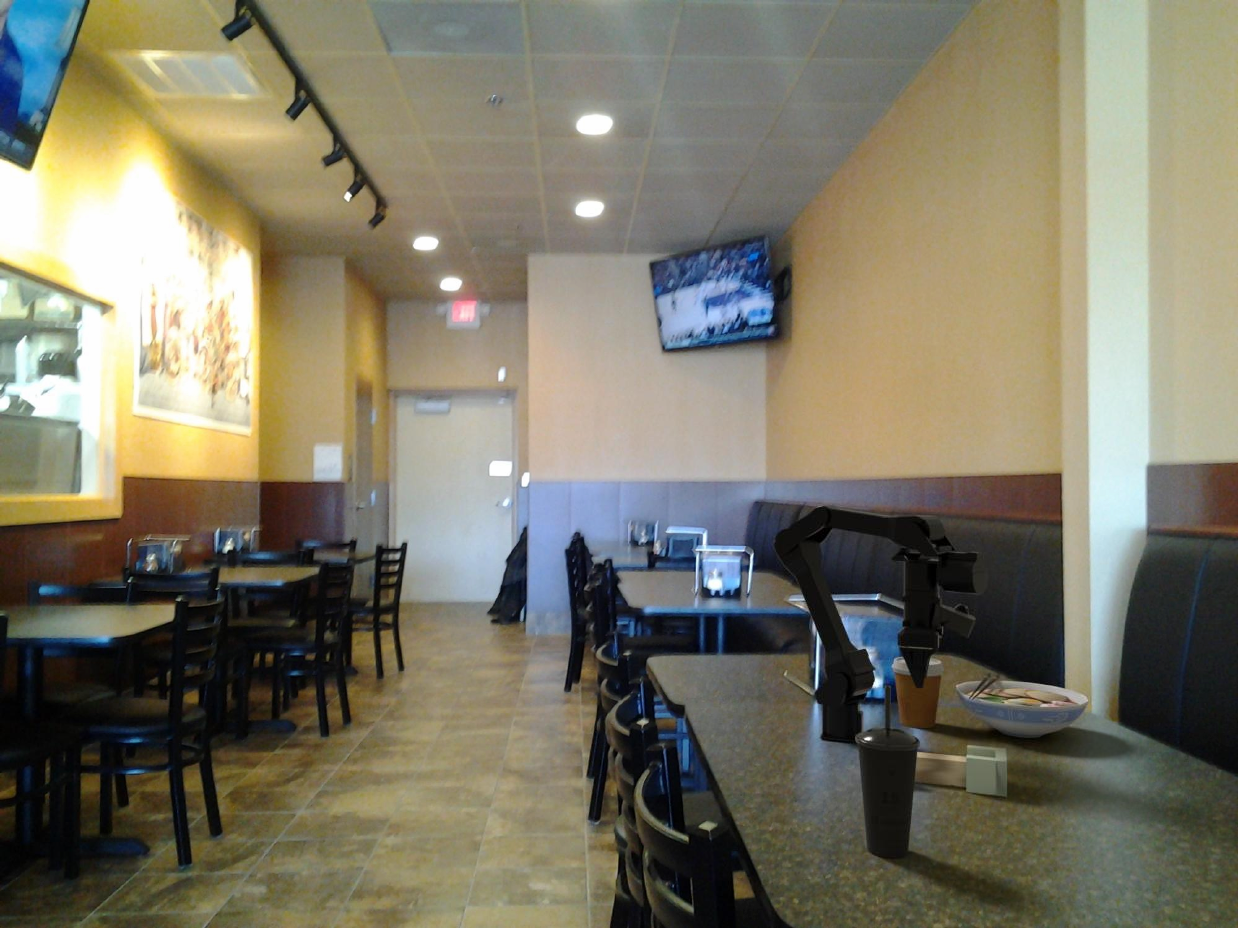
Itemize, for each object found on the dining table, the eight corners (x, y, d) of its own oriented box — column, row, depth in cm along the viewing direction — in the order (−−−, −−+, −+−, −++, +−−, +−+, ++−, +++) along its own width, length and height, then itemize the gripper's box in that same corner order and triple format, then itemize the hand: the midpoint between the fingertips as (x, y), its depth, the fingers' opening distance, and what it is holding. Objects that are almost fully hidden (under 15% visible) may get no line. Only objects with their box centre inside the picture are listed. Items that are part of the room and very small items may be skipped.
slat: (883, 779, 144) (884, 753, 144) (885, 774, 147) (885, 748, 147) (988, 791, 139) (988, 764, 139) (987, 785, 142) (987, 758, 142)
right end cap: (1005, 781, 143) (1005, 748, 143) (1006, 796, 136) (1006, 761, 136) (967, 777, 145) (967, 744, 145) (966, 791, 138) (966, 757, 138)
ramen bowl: (1081, 758, 156) (1081, 709, 156) (940, 738, 168) (940, 692, 168) (1096, 727, 177) (1096, 684, 177) (969, 711, 189) (969, 670, 189)
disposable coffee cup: (947, 731, 173) (947, 666, 173) (893, 728, 174) (893, 663, 175) (940, 719, 182) (940, 657, 182) (889, 716, 184) (889, 655, 184)
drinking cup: (846, 839, 118) (847, 680, 119) (905, 838, 119) (905, 679, 119) (867, 863, 110) (868, 692, 111) (930, 862, 111) (930, 692, 112)
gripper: (971, 597, 146) (971, 698, 146) (973, 586, 164) (973, 676, 163) (897, 594, 150) (897, 692, 150) (906, 583, 168) (906, 671, 167)
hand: (921, 682), depth 157 cm, fingers open, 9 cm apart
